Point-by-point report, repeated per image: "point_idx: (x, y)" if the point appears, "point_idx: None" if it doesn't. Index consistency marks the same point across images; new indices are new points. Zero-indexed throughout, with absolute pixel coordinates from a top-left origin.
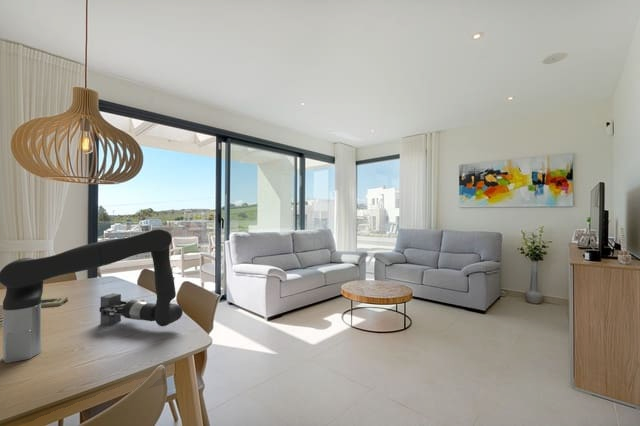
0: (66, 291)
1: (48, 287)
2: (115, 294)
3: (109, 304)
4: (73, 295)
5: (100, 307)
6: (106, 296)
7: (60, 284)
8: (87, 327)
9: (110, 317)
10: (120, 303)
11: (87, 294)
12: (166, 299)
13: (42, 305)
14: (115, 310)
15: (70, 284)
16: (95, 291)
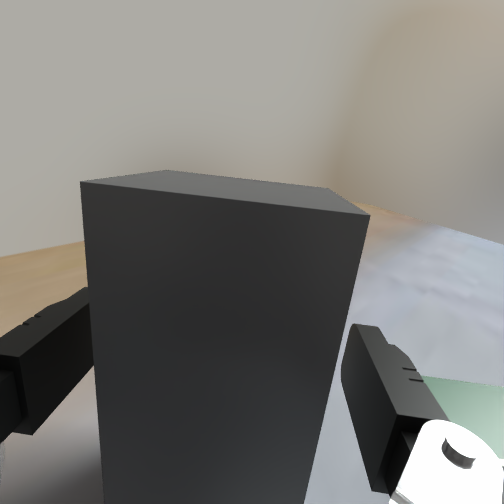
0: (371, 218)
1: (360, 207)
2: (307, 195)
3: (102, 318)
4: (368, 227)
5: (82, 294)
6: (182, 178)
7: (382, 209)
8: (90, 395)
9: (132, 498)
10: (320, 391)
11: (395, 236)
12: None
13: None
14: (213, 452)
15: (395, 213)
16: (421, 237)
